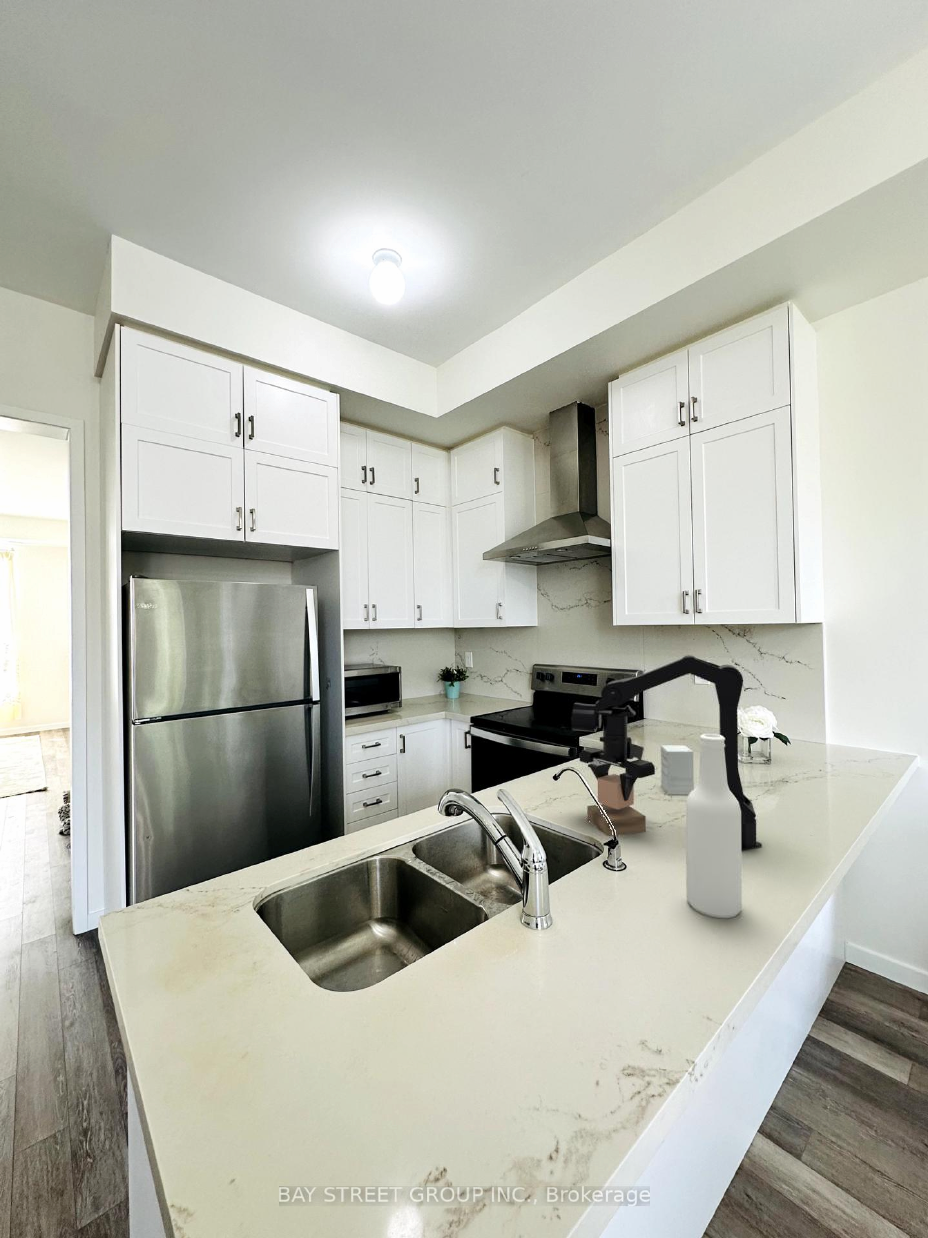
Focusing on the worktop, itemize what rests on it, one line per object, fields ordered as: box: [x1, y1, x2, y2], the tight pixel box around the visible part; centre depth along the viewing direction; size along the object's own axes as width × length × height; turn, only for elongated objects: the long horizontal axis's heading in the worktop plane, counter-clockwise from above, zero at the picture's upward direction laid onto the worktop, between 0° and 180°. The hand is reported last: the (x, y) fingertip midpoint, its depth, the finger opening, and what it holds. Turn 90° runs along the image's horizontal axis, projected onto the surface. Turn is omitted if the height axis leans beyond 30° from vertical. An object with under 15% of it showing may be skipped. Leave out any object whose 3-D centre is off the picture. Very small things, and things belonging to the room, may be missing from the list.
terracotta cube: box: [597, 773, 635, 810], centre depth 130 cm, size 6×6×6 cm
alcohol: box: [685, 733, 743, 919], centre depth 93 cm, size 9×9×30 cm
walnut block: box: [586, 803, 647, 837], centre depth 130 cm, size 10×10×4 cm
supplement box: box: [660, 744, 695, 796], centre depth 155 cm, size 7×7×13 cm
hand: (615, 797), depth 129 cm, fingers closed on terracotta cube, 6 cm apart
